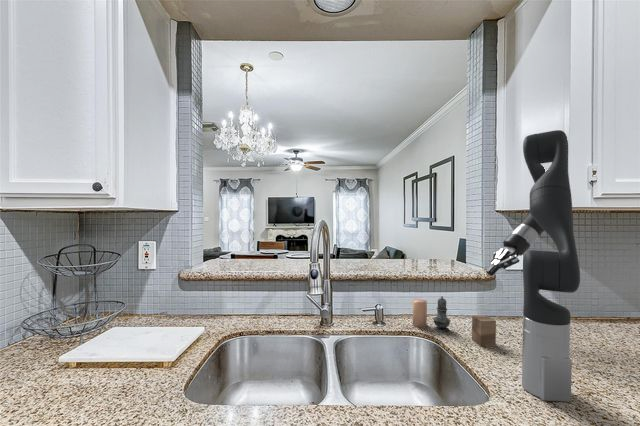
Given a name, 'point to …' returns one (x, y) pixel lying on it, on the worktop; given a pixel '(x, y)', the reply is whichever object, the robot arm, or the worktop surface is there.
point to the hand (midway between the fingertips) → (488, 274)
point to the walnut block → (484, 330)
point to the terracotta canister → (419, 313)
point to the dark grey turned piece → (441, 317)
